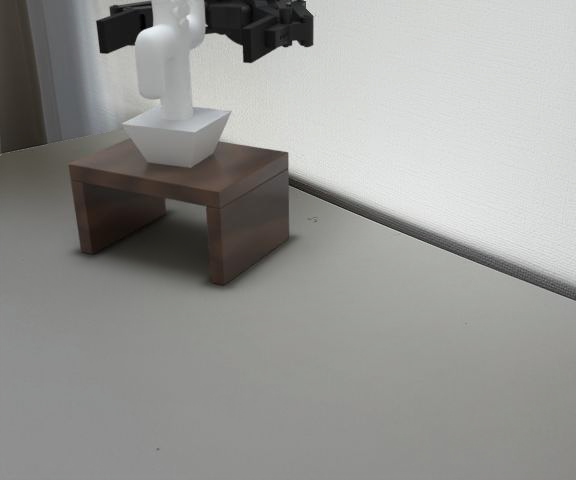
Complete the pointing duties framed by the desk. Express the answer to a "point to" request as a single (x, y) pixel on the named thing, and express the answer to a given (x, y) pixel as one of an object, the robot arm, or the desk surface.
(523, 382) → the desk surface
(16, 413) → the desk surface
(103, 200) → the shelf
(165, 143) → the figurine
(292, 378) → the desk surface
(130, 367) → the desk surface
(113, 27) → the robot arm
